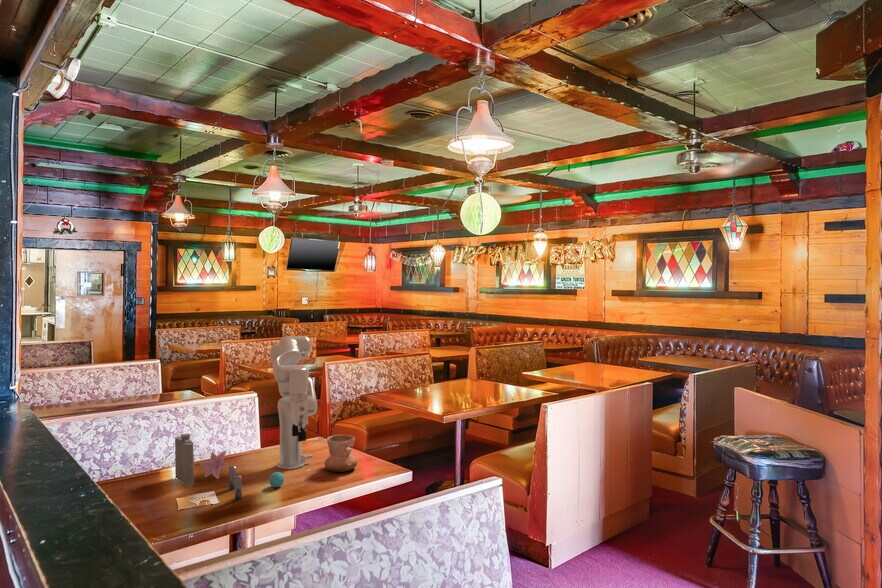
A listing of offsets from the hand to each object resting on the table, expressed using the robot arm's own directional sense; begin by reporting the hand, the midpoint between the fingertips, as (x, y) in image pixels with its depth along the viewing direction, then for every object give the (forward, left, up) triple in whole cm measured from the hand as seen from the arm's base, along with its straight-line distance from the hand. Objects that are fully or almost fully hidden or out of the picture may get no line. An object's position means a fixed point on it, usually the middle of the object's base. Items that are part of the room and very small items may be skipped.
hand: (298, 438), depth 235 cm
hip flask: (+41, -25, -19) cm, 52 cm away
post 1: (+25, -7, -19) cm, 32 cm away
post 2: (+25, +6, -19) cm, 32 cm away
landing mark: (+39, 0, -19) cm, 43 cm away
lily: (+29, -28, -19) cm, 45 cm away
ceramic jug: (-21, -9, -19) cm, 30 cm away
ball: (+9, 0, -16) cm, 18 cm away
